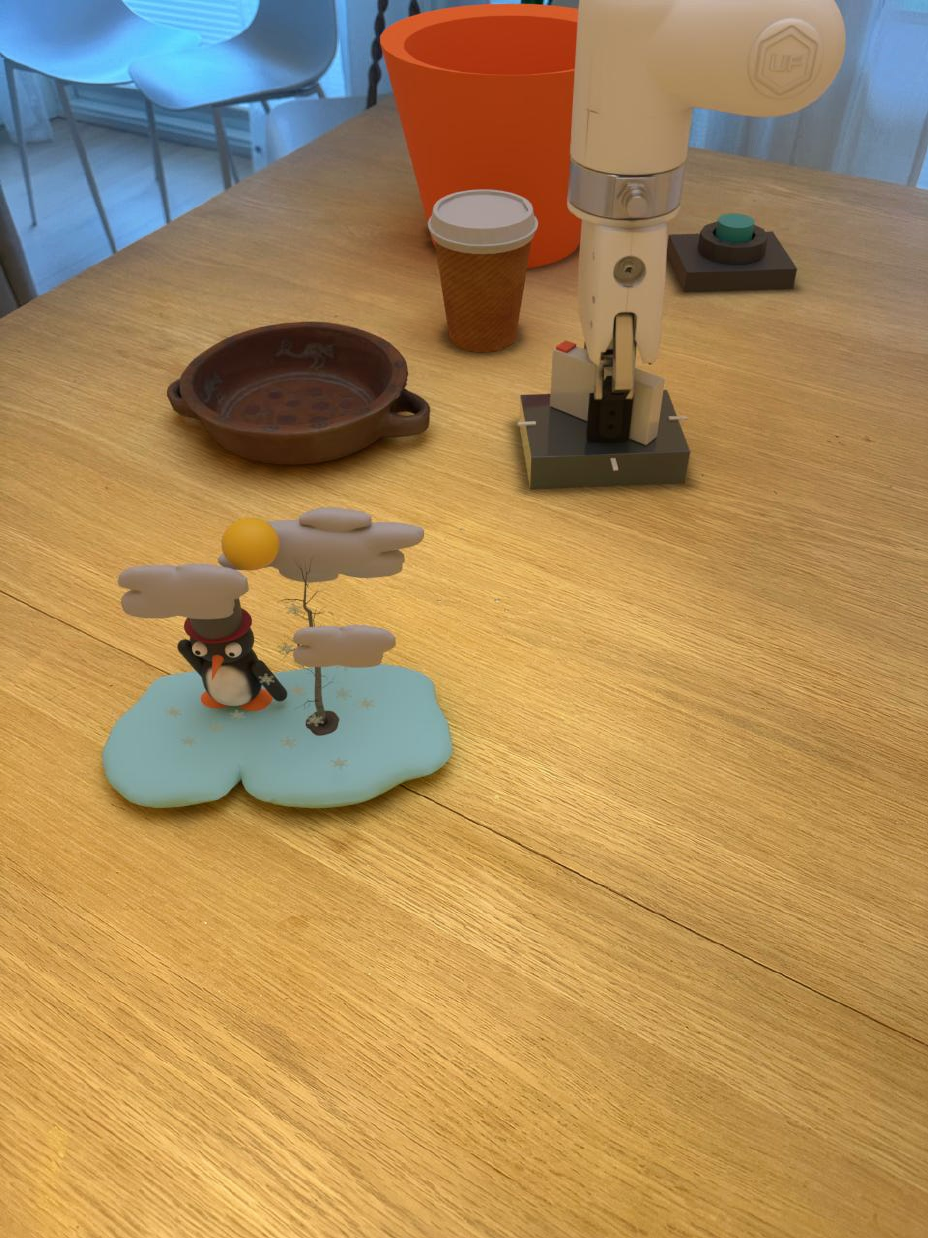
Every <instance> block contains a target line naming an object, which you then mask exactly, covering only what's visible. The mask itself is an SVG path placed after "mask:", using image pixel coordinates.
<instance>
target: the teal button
mask: <svg viewBox="0 0 928 1238" xmlns="http://www.w3.org/2000/svg"><path fill="white" fill-rule="evenodd" d="M716 222H717V228H716V234H715V237H717V238H719V239H721V240H723V241H728V242H747V241H750V240H752V235H753V229H754V225H756V220H755V219H754V218H753V217H751V216H749V215H747V214H743V213H736V212H735V213H734V212H733V213H724V214H722V215H721V214H720V215H719V216H718V218H717V221H716Z"/></svg>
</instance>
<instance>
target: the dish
mask: <svg viewBox="0 0 928 1238" xmlns="http://www.w3.org/2000/svg"><path fill="white" fill-rule="evenodd" d="M408 377H409V368H408V364H407V360H406V358H405V357H404V355H403V354H402V353H401V351H400V350H399V349H397V348H396V347H395V346H394V345H393V344H392V343H391V342H389V341H387V340H386V339H384V338H382V337H380V336H378V335H376V334H374V333H372V332H369V331H367V330H363V329H360V328H357V327H353V326H349V325H344V324H340V323H334V322H328V321H295V322H294V321H293V322H282V323H281V322H280V323H277V324H269V325H264V326H259V327H256V328H252V329H247V330H244V331H242V332H238V333H235V334H233V335H231V336H228V337H226V338H224V339H222V340H220V341H218V342H216V343H215V344H213V345H211V346H210V347H208V348H207V349H205V350H204V351H203V352H201V353H200V354H198V355H197V356H196V357H194V359H193V360H191V362H190V363H189V364H188V365H187V366H186V368H185V369H184V370H183V372H182V374H181V375H180V377H179V378H177V379H176V380H174V381H173V382H171V383H170V384H169V386H167V389H166V397H167V399H168V401H169V403H170V406H171V407H172V410H173V411H174V412H175V413H177V414H178V415H180V416H183V417H186V418H191V419H195V420H197V421H198V420H199V421H200V422H201V423H202V424H203V427H204V428H205V429H206V431H207V432H208V434H209V435H210V437H212V439H214V441H215V442H216V443H217V444H219V445H220V446H221V447H222V448H223V449H225V450H226V451H229V452H231V453H233V454H234V455H237V456H240V457H242V458H244V459H247V460H251V461H255V462H258V463H259V462H261V463H268V464H275V465H289V466H290V465H308V464H315V463H316V464H317V463H321V462H327V461H328V462H329V461H333V460H337V459H341V458H345V457H347V456H351V455H352V454H354V453H357V452H360V451H361V450H363V449H366V448H367V447H369V446H370V445H372V444H374V443H375V442H377V441H378V440H379V439H381V438H403V437H413V436H417V435H421V434H423V433H424V432H426V431H427V430H428V429H429V426H430V421H431V406H430V404H429V403H428V401H427V400H426V399H424V398H423V397H422V396H420V395H419V394H416V393H415V392H412V391H410V390H408V389H407V388H406V387H407V385H408ZM399 413H410V414H408V415H403V414H402V415H401V414H399Z"/></svg>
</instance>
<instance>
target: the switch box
mask: <svg viewBox="0 0 928 1238" xmlns="http://www.w3.org/2000/svg"><path fill="white" fill-rule="evenodd" d="M716 228H717V221H714V222H711V223H707V224H705V225H704V226H703V227H702V228H701V230H699V233H676V234H675V233H673V234H668V235H667V257H666V258H667V259H668V262H669V264H670V266H671V268H672V270H673V272H674V275H675V277H676V280H677V281H678V284H679V286H680V288H681V290H682V293H715V292H747V291H749V292H751V291H778V290H780V291H781V290H793V289H794V285H795V281H796V278H797V277H796V276H797V271H798V268H797V266H796V264H795V263H794V262H793V260H792V259H791V257H790V255H789V254H788V252H787V251H786V249H785V247H784V246H783V245H782V243H781V241H780V240H779V239H778V237H777V235H776V234H775V233H774V231H766V230H765V229H764V228H762V227H760V226H758V225H756V224H754V229H753V235H752V240H750V241H747V242H728V241H723V240H721V239H719V238H717V237H715V234H716Z"/></svg>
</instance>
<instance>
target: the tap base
mask: <svg viewBox="0 0 928 1238" xmlns="http://www.w3.org/2000/svg"><path fill="white" fill-rule="evenodd" d="M687 420H688V418H687V416H686V415H677V412H676V409H675V407H674V403H673V401H672V399H671V396H670V393H669V390H668V389H663V397H662V404H661V411H660V419H659V426H658V433H657V437H656V438H655V439H653V440H652V441H651V442H650V443H648V444H647V445H644V444H642V443H639V442H637V441H634V440H632V439H628V440H627V441H625V442H601V443H590V442H588V441H587V437H586V430H587V421H585V420H583V419H580V418H578V417H575V416H573V415H570V414H568V413H566V412H563V411H561V410H558V409H556V408H553V407H551V406H550V393H532V394H531V393H529V394H520V395H519V421H517V427H519V433H520V438H521V445H522V451H523V456H524V462H525V469H526V473H527V474H526V475H527V481H528V485H529V486H528V487H529V489H530V490H549V489H550V490H552V489H578V488H602V487H603V488H604V487H629V486H631V487H632V486H654V485H655V486H657V485H679V484H680V485H682V484H686V480H687V475H688V467H689V462H690V456H691V450H690V447H689V444H688V442H687V438H686V437H685V434H684V431H683V429H682V425H681V423H680V421H687Z"/></svg>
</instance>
